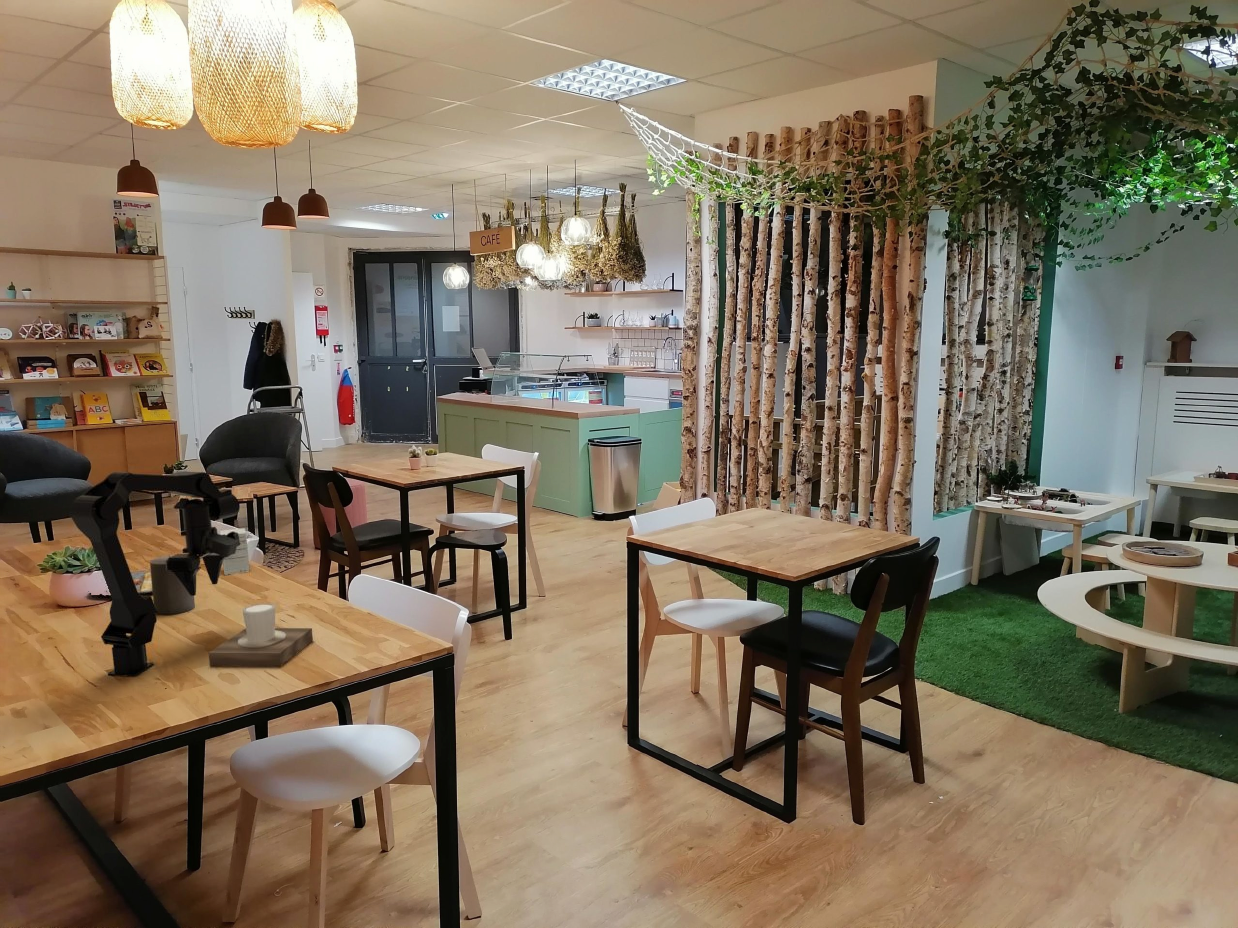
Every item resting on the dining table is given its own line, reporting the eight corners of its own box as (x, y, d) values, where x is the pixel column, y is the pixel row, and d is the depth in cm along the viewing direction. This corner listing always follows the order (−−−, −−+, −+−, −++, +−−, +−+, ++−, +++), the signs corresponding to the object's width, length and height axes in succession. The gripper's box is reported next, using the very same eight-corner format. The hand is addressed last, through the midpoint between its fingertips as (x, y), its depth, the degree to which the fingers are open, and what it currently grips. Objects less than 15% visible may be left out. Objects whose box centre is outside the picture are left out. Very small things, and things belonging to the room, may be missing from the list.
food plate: (100, 581, 257) (99, 569, 257) (186, 572, 265) (185, 561, 265) (81, 606, 234) (80, 594, 233) (176, 596, 242) (175, 584, 242)
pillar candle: (157, 617, 221) (152, 560, 219) (151, 608, 229) (146, 553, 227) (198, 610, 227) (194, 555, 225) (191, 601, 235) (187, 548, 232)
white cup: (265, 643, 189) (263, 613, 188) (238, 642, 191) (235, 611, 190) (284, 633, 196) (281, 603, 195) (257, 631, 197) (255, 602, 196)
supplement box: (223, 570, 267) (219, 530, 265) (249, 566, 270) (245, 527, 268) (223, 575, 260) (219, 535, 258) (249, 572, 263) (246, 532, 261)
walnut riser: (280, 666, 185) (279, 650, 185) (209, 665, 187) (208, 650, 186) (312, 640, 201) (311, 626, 201) (247, 640, 202) (246, 625, 202)
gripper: (208, 533, 190) (215, 601, 193) (251, 516, 209) (256, 578, 211) (161, 534, 191) (168, 601, 194) (207, 516, 210) (213, 578, 212)
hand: (204, 589), depth 202 cm, fingers open, 9 cm apart
